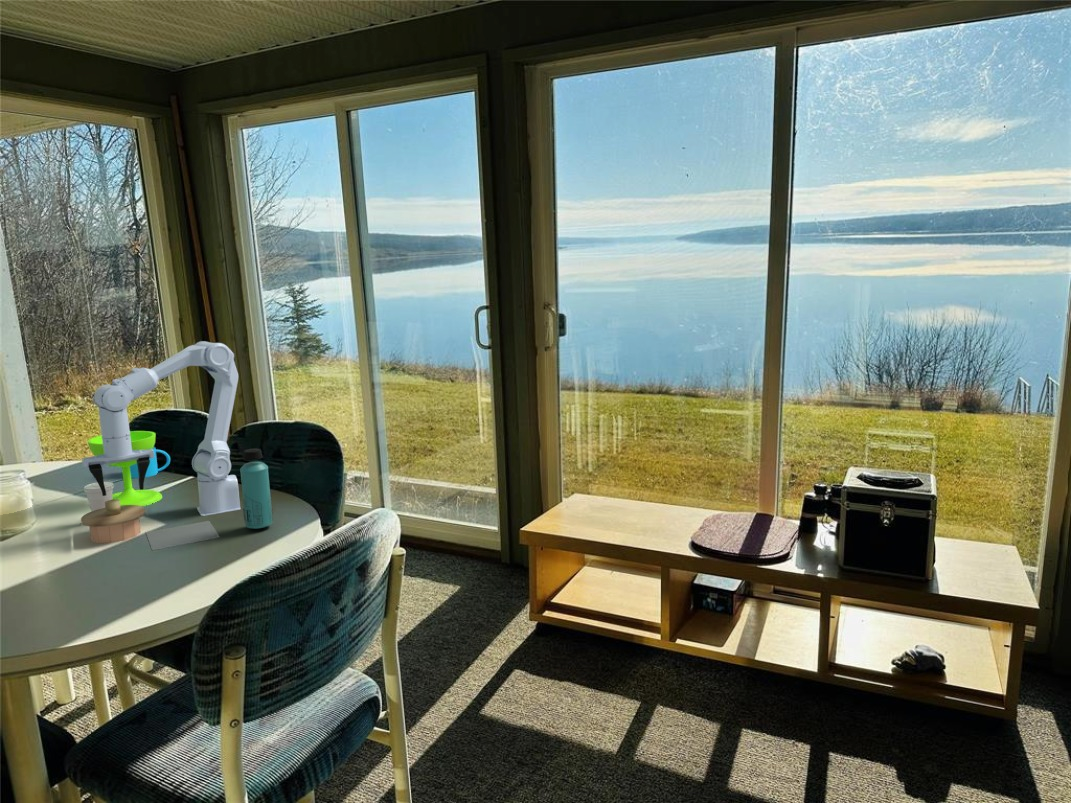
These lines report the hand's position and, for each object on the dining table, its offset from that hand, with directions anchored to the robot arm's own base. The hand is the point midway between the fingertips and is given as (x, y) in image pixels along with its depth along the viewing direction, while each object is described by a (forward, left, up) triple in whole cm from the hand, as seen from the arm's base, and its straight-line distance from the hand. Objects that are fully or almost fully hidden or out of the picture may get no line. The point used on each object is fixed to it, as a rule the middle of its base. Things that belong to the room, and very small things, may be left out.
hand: (123, 491), depth 168 cm
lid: (+3, +2, -5) cm, 6 cm away
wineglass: (-2, -28, -11) cm, 31 cm away
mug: (-10, -57, -11) cm, 59 cm away
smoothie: (+5, -12, -11) cm, 17 cm away
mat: (-10, +11, -10) cm, 18 cm away
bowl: (+3, +2, -10) cm, 11 cm away
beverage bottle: (-26, +17, -11) cm, 33 cm away
